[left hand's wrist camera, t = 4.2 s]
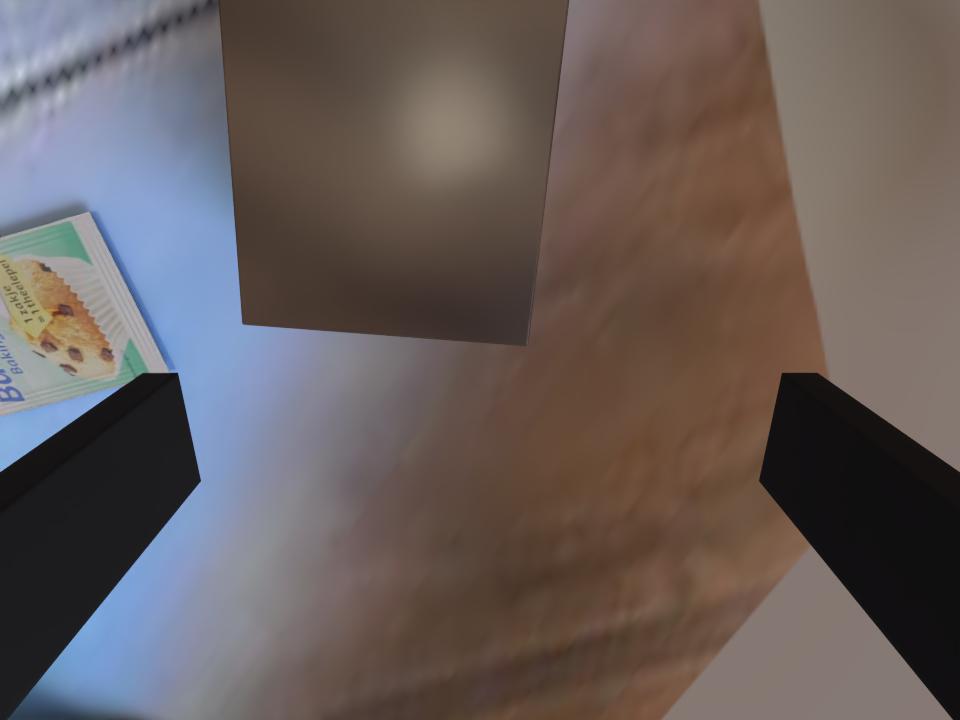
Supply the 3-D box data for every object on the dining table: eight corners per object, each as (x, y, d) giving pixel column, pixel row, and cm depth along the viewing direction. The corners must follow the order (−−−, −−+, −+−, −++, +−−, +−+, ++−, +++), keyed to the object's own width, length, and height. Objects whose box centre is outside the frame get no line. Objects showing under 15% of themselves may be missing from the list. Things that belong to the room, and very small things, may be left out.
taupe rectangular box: (300, -177, 23) (188, -378, 14) (558, -150, 23) (609, -329, 14) (312, 269, 29) (241, 325, 20) (513, 285, 29) (528, 346, 21)
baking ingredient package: (167, 375, 30) (-73, 436, 32) (172, 371, 31) (-66, 432, 32) (85, 212, 27) (-176, 288, 29) (91, 210, 28) (-167, 286, 29)
